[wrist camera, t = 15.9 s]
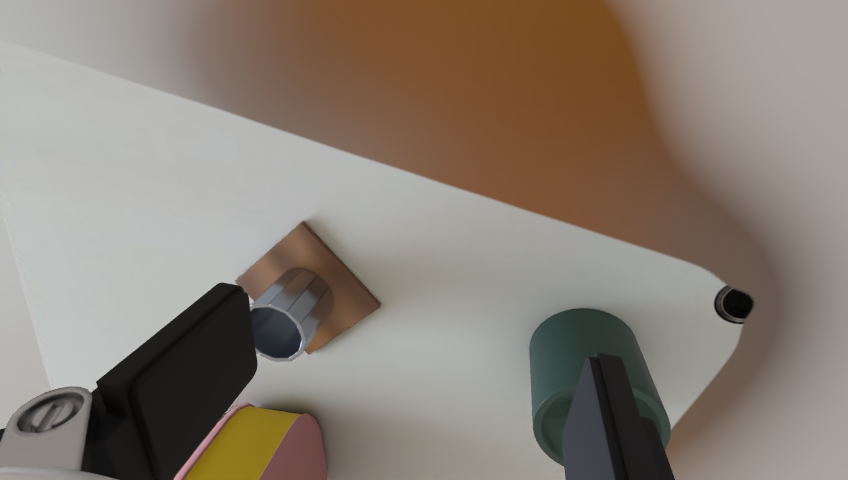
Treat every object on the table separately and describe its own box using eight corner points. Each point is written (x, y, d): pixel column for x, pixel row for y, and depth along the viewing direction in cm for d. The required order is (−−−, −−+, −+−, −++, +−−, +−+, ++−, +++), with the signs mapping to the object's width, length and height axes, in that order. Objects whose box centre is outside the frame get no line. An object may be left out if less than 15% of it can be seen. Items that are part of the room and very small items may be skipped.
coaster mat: (303, 220, 43) (300, 222, 42) (381, 304, 45) (379, 307, 45) (237, 278, 48) (234, 281, 47) (310, 351, 50) (308, 354, 50)
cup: (302, 257, 44) (267, 292, 38) (345, 302, 45) (318, 342, 39) (265, 287, 47) (227, 325, 41) (306, 329, 48) (275, 371, 42)
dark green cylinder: (600, 290, 40) (624, 360, 31) (658, 365, 42) (697, 451, 33) (509, 338, 44) (507, 412, 35) (566, 404, 46) (578, 490, 37)
